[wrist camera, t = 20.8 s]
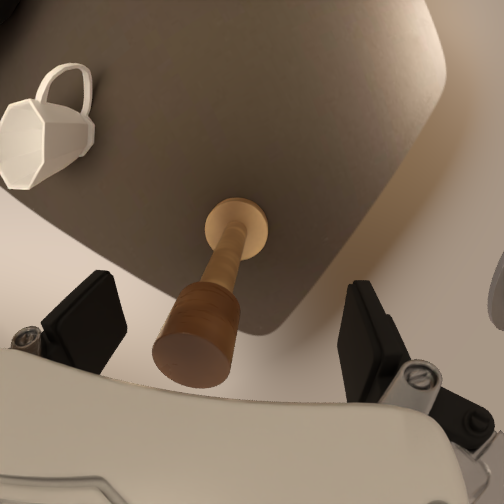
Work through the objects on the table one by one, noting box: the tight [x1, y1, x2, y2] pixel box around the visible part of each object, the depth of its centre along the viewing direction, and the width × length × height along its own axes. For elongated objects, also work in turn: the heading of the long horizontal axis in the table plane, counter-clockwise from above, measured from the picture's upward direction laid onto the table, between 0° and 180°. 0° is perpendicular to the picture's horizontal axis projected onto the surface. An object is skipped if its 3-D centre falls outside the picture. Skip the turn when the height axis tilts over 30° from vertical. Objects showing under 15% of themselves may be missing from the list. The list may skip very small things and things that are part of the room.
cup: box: [0, 63, 95, 190], centre depth 17 cm, size 7×10×8 cm
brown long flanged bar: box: [152, 197, 268, 388], centre depth 17 cm, size 5×5×15 cm
